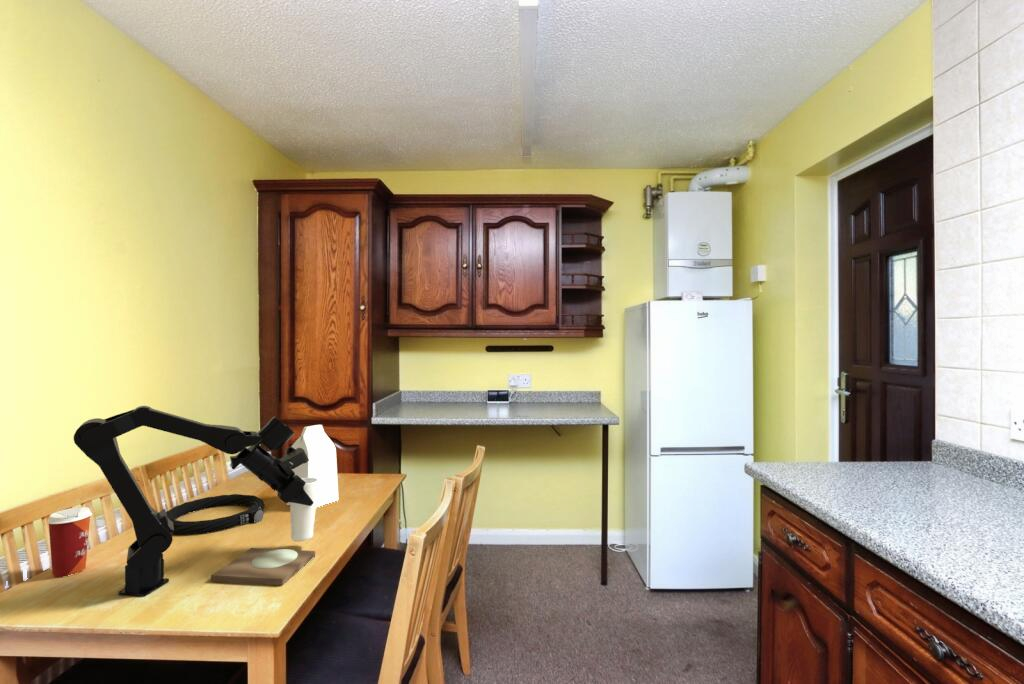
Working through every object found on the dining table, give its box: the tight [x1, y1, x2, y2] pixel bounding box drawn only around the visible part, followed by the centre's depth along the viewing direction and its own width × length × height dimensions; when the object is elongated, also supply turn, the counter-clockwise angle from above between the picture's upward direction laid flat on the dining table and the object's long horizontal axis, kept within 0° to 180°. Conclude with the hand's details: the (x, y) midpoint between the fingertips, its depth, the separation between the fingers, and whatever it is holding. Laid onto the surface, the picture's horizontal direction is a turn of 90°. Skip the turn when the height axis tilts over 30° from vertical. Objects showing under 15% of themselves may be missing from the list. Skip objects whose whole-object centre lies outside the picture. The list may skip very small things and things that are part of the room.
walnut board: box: [210, 547, 316, 586], centre depth 110 cm, size 14×17×2 cm
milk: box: [285, 424, 340, 509], centre depth 156 cm, size 12×12×26 cm
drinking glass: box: [289, 478, 318, 543], centre depth 121 cm, size 7×7×15 cm
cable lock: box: [166, 493, 266, 535], centre depth 142 cm, size 28×4×30 cm
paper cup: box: [46, 506, 93, 578], centre depth 109 cm, size 8×8×14 cm
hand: (308, 500), depth 122 cm, fingers closed on drinking glass, 6 cm apart
